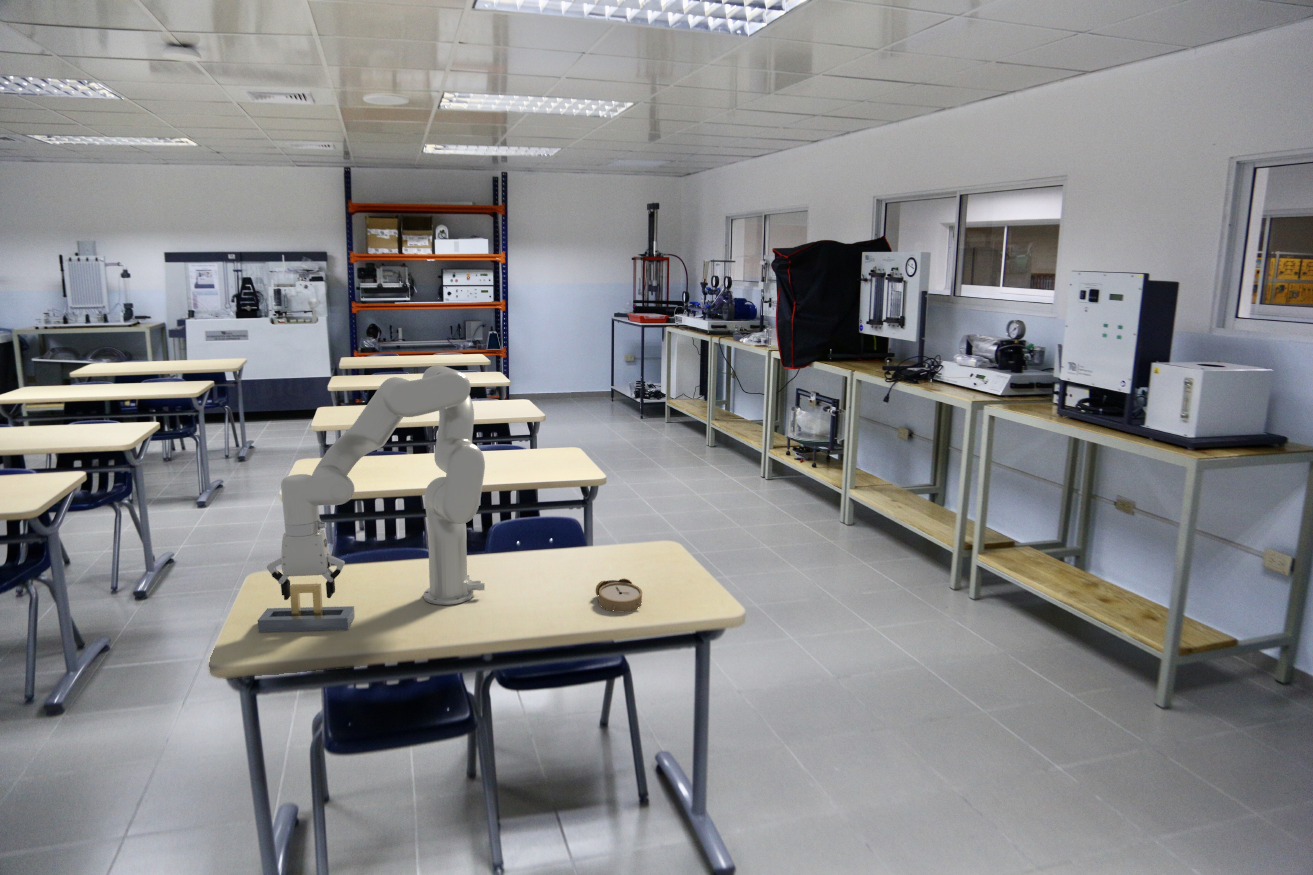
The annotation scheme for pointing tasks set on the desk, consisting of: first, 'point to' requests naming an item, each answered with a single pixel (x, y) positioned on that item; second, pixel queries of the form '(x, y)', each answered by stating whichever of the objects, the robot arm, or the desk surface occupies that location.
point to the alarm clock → (619, 595)
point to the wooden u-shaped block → (306, 588)
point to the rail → (306, 619)
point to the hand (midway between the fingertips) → (309, 596)
